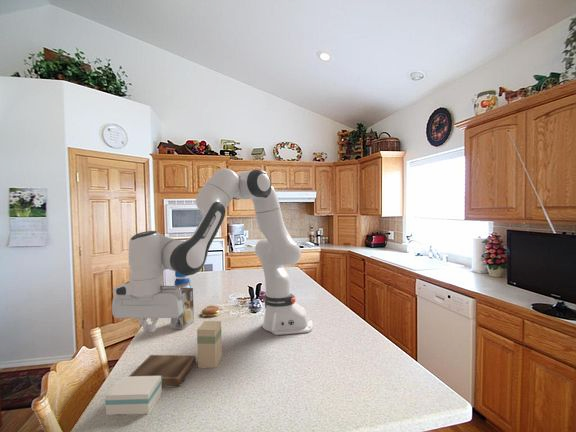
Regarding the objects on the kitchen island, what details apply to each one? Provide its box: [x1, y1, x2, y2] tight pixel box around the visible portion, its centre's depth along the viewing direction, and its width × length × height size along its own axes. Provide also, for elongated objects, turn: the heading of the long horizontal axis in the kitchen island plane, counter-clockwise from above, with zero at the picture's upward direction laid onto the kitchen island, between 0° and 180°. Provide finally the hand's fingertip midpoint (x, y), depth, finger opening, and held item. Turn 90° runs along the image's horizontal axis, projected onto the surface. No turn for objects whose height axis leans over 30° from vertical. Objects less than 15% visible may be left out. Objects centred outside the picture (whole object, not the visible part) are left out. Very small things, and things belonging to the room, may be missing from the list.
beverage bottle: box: [173, 271, 192, 288], centre depth 152 cm, size 8×8×20 cm
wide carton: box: [104, 375, 163, 416], centre depth 77 cm, size 11×8×6 cm
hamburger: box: [200, 304, 223, 318], centre depth 143 cm, size 14×14×6 cm
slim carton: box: [196, 320, 223, 369], centre depth 97 cm, size 6×7×13 cm
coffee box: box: [170, 287, 195, 330], centre depth 128 cm, size 9×6×16 cm
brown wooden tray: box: [127, 354, 197, 387], centre depth 91 cm, size 16×13×2 cm
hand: (149, 331), depth 84 cm, fingers closed
